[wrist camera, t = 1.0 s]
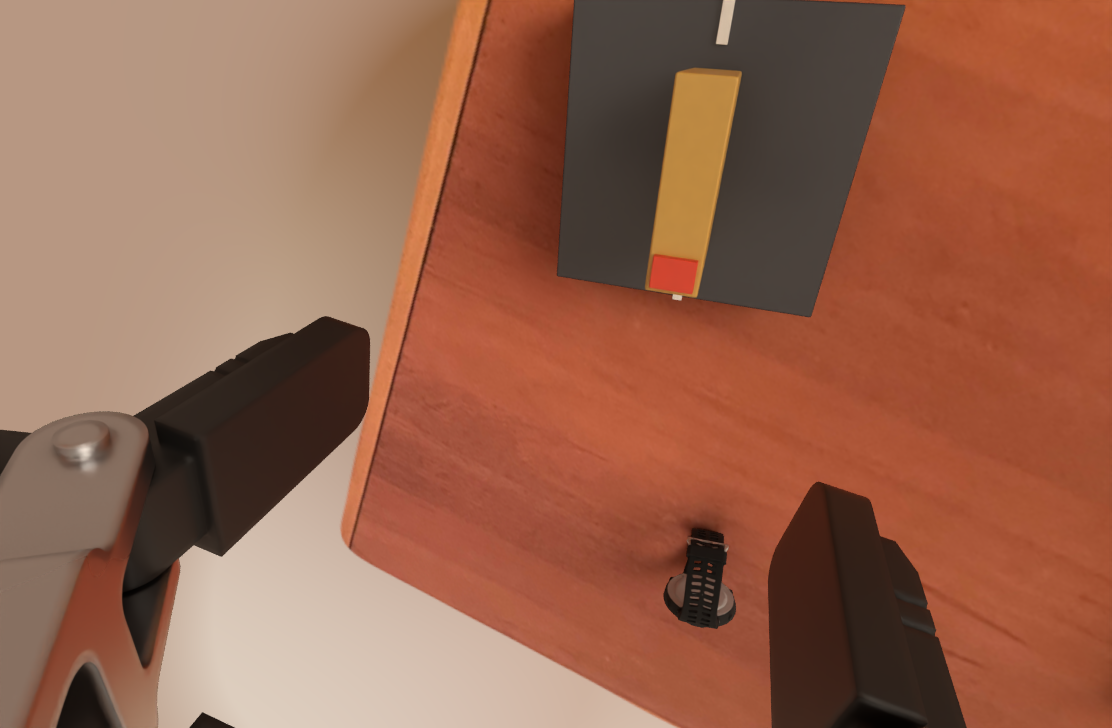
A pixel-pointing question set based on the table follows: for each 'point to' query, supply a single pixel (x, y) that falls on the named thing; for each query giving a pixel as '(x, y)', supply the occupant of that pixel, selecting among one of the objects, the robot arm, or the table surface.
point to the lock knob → (691, 178)
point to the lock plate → (754, 145)
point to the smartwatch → (702, 584)
